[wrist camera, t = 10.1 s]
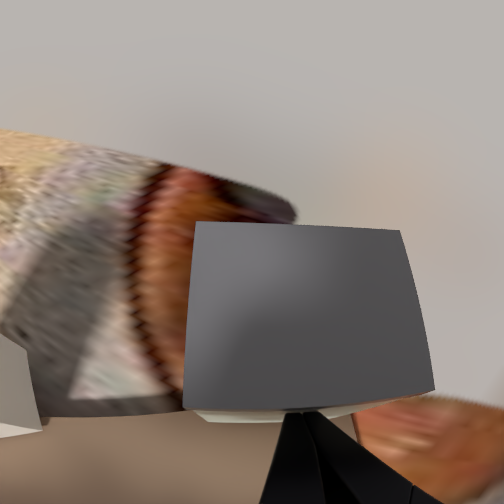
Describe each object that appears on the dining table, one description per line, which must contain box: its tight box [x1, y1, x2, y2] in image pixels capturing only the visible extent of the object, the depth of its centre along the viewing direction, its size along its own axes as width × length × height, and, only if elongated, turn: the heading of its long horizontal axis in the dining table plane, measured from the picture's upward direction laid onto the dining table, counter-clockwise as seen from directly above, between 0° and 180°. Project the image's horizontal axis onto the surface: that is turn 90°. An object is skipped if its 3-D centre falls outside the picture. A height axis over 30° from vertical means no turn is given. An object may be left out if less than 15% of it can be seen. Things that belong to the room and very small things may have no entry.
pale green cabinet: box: [183, 221, 435, 423], centre depth 10 cm, size 4×5×8 cm
